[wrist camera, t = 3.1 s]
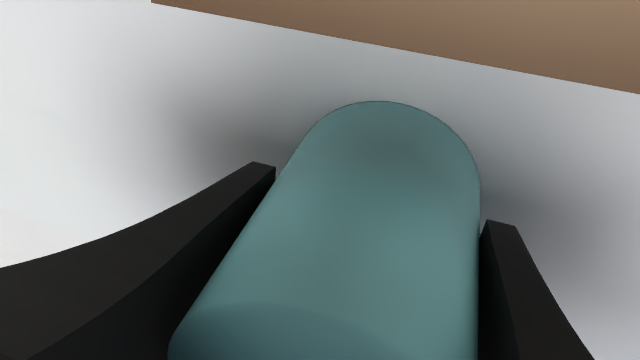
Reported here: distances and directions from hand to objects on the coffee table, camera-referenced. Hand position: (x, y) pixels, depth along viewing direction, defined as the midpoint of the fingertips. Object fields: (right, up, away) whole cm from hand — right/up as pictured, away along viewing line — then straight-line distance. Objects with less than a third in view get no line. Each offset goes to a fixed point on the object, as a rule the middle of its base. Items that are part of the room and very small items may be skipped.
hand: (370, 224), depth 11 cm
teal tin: (0, +1, +1) cm, 2 cm away
